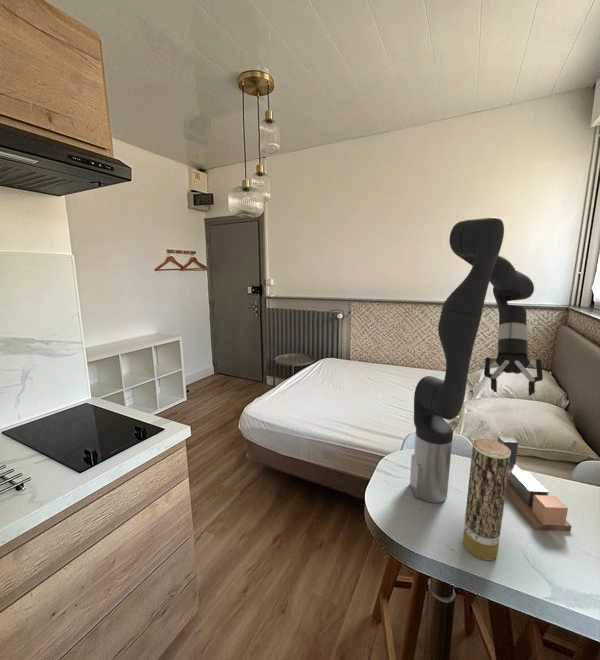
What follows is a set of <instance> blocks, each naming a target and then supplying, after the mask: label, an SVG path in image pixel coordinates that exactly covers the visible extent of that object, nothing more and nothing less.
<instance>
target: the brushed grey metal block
mask: <svg viewBox="0 0 600 660" xmlns="http://www.w3.org/2000/svg"><path fill="white" fill-rule="evenodd" d="M497 442H500V443H502V444H504V445H506V446H507V447H508V448H509V449H510V451H511V456H510V464H509V471H508V479H509V480H510V474H511V471H519V472H523V470H521V469H520V468H519V467H518V466H517V465H516V461H517V454H518V447H519V442H518V441H517V440H516V439H515V438H514V437H512V436H498V437H497ZM534 495H544V496H546V495H545V494H544V493H531V499H530V503H531V504H532V505H533V501H534Z"/></svg>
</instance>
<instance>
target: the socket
mask: <svg viewBox="0 0 600 660" xmlns="http://www.w3.org/2000/svg"><path fill="white" fill-rule="evenodd" d="M568 511H569V507H567V505H566V504H565V503H564V502H562V501H561V499H559V498H558V496H556V495H548V496H544V495H534V501H533V508H532V513H533V514H534V515H535V516H536V517H537V518H538V519H539V521H540V522H541V523H542V524H543V525H562V526H565V523H566V521H567V515H568Z"/></svg>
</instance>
